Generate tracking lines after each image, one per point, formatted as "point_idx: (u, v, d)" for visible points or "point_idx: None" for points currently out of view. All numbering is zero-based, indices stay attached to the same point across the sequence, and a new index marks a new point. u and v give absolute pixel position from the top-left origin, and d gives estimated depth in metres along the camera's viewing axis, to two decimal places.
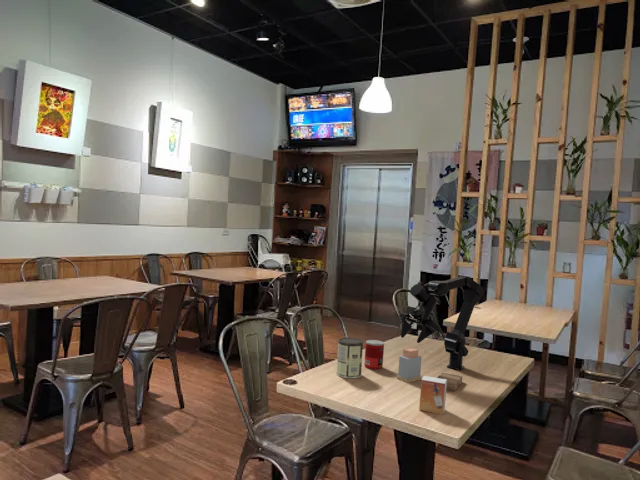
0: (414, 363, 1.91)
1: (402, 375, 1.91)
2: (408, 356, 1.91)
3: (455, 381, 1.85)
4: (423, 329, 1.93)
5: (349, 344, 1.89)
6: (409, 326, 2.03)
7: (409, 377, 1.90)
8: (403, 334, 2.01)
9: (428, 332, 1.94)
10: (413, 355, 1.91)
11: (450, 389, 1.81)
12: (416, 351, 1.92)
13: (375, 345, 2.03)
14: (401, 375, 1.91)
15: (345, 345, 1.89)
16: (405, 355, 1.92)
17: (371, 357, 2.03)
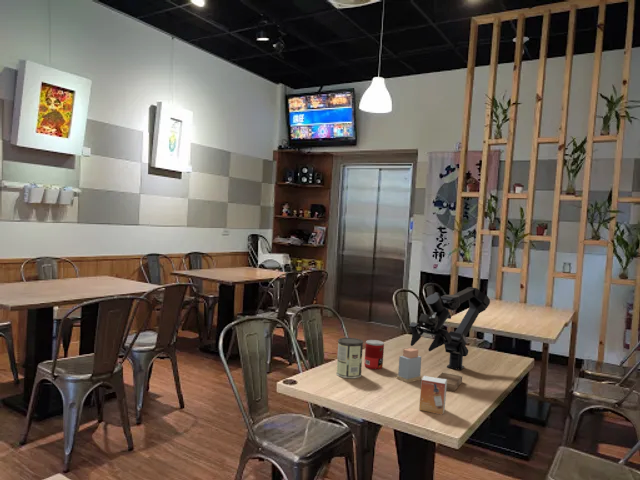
0: (414, 363, 1.91)
1: (402, 375, 1.91)
2: (408, 356, 1.91)
3: (455, 381, 1.85)
4: (436, 338, 1.94)
5: (349, 344, 1.89)
6: (418, 336, 2.04)
7: (409, 377, 1.90)
8: (413, 342, 2.00)
9: (440, 342, 1.95)
10: (413, 355, 1.91)
11: (450, 389, 1.81)
12: (416, 351, 1.92)
13: (375, 345, 2.03)
14: (401, 375, 1.91)
15: (345, 345, 1.89)
16: (405, 355, 1.92)
17: (371, 357, 2.03)
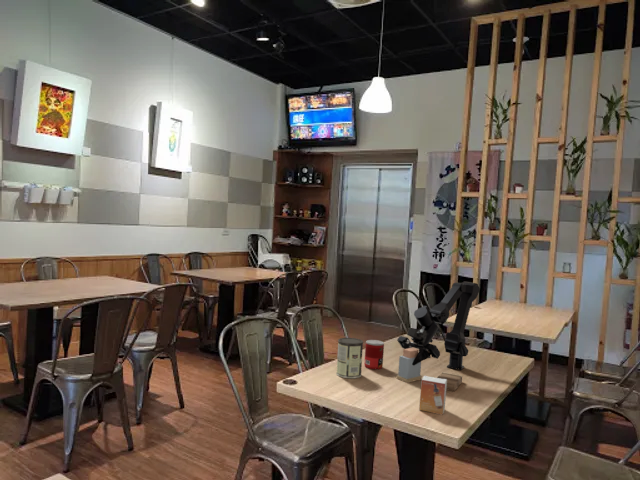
0: None
1: (402, 375, 1.91)
2: (408, 356, 1.91)
3: (455, 381, 1.85)
4: (420, 352, 1.91)
5: (349, 344, 1.89)
6: None
7: (409, 377, 1.89)
8: None
9: (424, 356, 1.92)
10: (413, 355, 1.91)
11: (450, 389, 1.81)
12: (416, 351, 1.92)
13: (375, 345, 2.03)
14: (401, 375, 1.91)
15: (345, 345, 1.89)
16: (405, 355, 1.92)
17: (371, 357, 2.03)
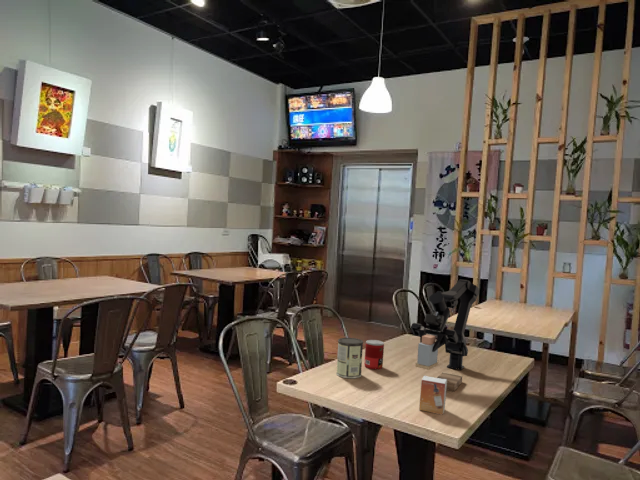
0: None
1: (422, 362, 1.86)
2: (428, 343, 1.87)
3: (455, 381, 1.85)
4: (439, 338, 1.88)
5: (349, 344, 1.89)
6: None
7: (429, 364, 1.86)
8: None
9: (442, 342, 1.89)
10: (432, 341, 1.88)
11: (450, 389, 1.81)
12: (434, 337, 1.89)
13: (375, 345, 2.03)
14: (421, 363, 1.87)
15: (345, 345, 1.89)
16: (424, 342, 1.87)
17: (371, 357, 2.03)
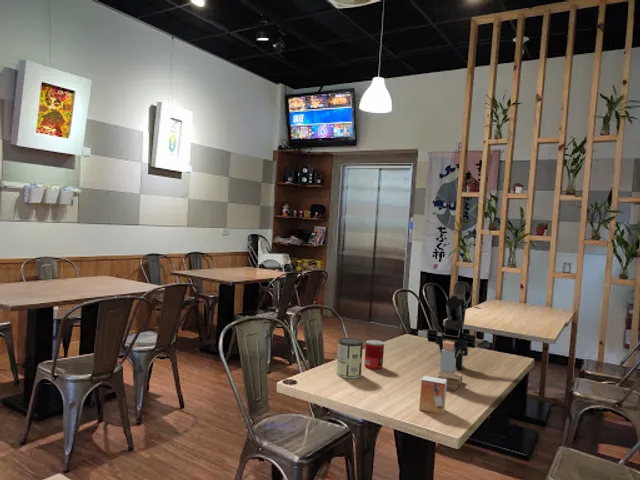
0: None
1: (446, 369, 1.83)
2: (450, 349, 1.84)
3: (455, 381, 1.85)
4: (460, 343, 1.86)
5: (349, 344, 1.89)
6: None
7: (453, 370, 1.83)
8: None
9: (461, 347, 1.88)
10: None
11: (450, 389, 1.81)
12: (454, 343, 1.87)
13: (375, 345, 2.03)
14: (444, 370, 1.83)
15: (345, 345, 1.89)
16: (446, 348, 1.85)
17: (371, 357, 2.03)
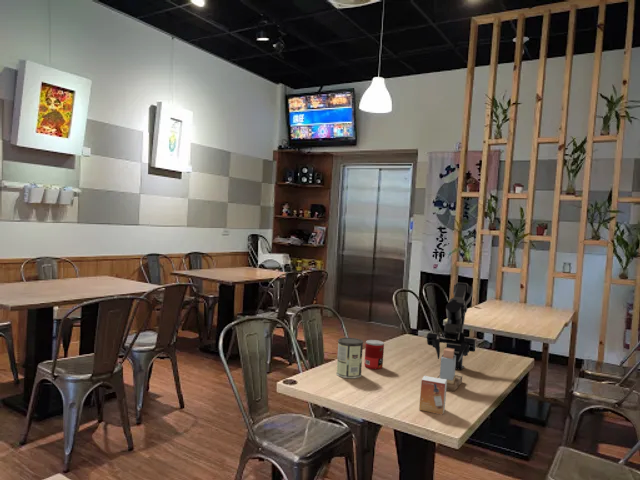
0: (454, 363, 1.86)
1: (445, 377, 1.83)
2: (450, 356, 1.84)
3: (455, 381, 1.85)
4: (462, 347, 1.86)
5: (349, 344, 1.89)
6: None
7: (452, 378, 1.83)
8: (439, 355, 1.88)
9: (464, 351, 1.88)
10: (453, 354, 1.86)
11: (450, 389, 1.81)
12: (454, 350, 1.87)
13: (375, 345, 2.03)
14: (444, 377, 1.83)
15: (345, 345, 1.89)
16: (446, 356, 1.85)
17: (371, 357, 2.03)
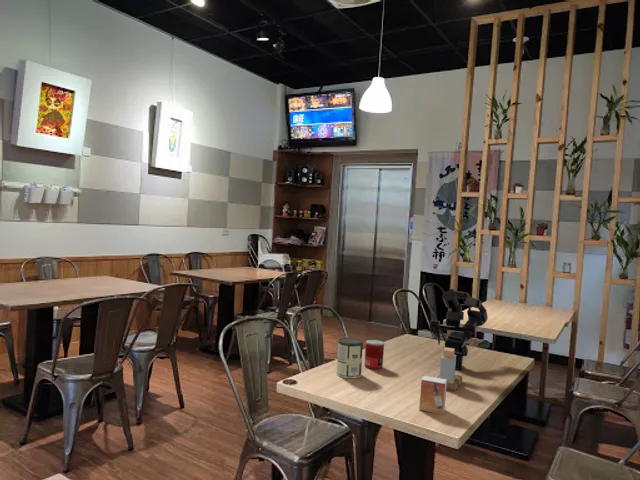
0: (454, 363, 1.86)
1: (445, 377, 1.83)
2: (450, 356, 1.84)
3: (455, 381, 1.85)
4: (466, 334, 1.98)
5: (349, 344, 1.89)
6: None
7: (452, 378, 1.83)
8: (439, 341, 2.00)
9: (466, 337, 2.00)
10: (453, 354, 1.86)
11: (450, 389, 1.81)
12: (454, 350, 1.87)
13: (375, 345, 2.03)
14: (444, 377, 1.83)
15: (345, 345, 1.89)
16: (446, 356, 1.85)
17: (371, 357, 2.03)
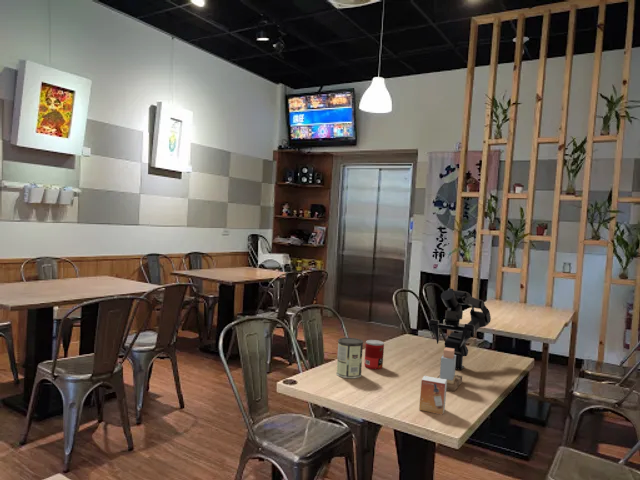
0: (454, 363, 1.86)
1: (445, 377, 1.83)
2: (450, 356, 1.84)
3: (455, 381, 1.85)
4: (464, 333, 1.98)
5: (349, 344, 1.89)
6: None
7: (452, 378, 1.83)
8: (438, 340, 2.01)
9: (465, 337, 2.00)
10: (453, 354, 1.86)
11: (450, 389, 1.81)
12: (454, 350, 1.87)
13: (375, 345, 2.03)
14: (444, 377, 1.83)
15: (345, 345, 1.89)
16: (446, 356, 1.85)
17: (371, 357, 2.03)
